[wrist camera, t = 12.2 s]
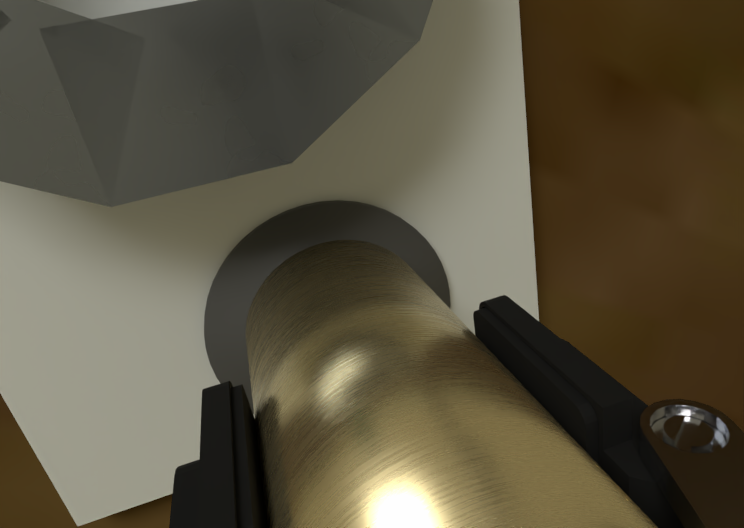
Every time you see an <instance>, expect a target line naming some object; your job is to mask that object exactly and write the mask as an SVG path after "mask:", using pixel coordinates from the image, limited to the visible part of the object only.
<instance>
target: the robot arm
mask: <svg viewBox="0 0 744 528" xmlns="http://www.w3.org/2000/svg"><path fill="white" fill-rule="evenodd" d="M473 319H474V327H475V336H476V337H477V338H478V339H479V340H480V341H481V342H482V343H483V344H484V345H485V346H486V347H487V348H488V349H489V350H490V351H491V352H492V353H493V354H494V356H495V357H496V358H497V359H498V360H499V361H500V362H501V363H502V364H503V365H504V366H505V367H506V368H507V369H508V370H509V371H510V372H511V373H512V374H513V376H514V377H515V378H516V379H517V380H518V381H519V382H520V383H521V384H522V385H523V386H524V387H525V388H526V389H527V390H528V391H529V392H530V393H531V394H532V395H533V397H534V398H535V399H536V400H537V401H538V402H539V403H540V404H541V405H542V406H543V407H544V408H545V409H546V410H547V411H548V412H549V413H550V414H551V415H552V417H553V418H554V419H555V420H556V421H557V422H558V423H559V424H560V425H561V426H562V427H563V428H564V429H565V430H566V431H567V432H568V433H569V434H570V435H571V436H572V438H573V439H574V440H575V441H576V442H577V443H578V444H579V445H580V446H581V447H582V448H583V449H584V450H585V451H586V452H587V453H588V454H589V455H590V456H591V458H592V459H593V460H594V461H595V462H596V463H597V464H598V465H599V466H600V467H601V468H602V469H603V470H604V471H605V472H606V473H607V474H608V475H609V476H610V477H611V479H612V480H613V481H614V482H615V483H616V484H617V485H618V486H619V487H620V488H621V489H622V490H623V491H624V492H625V493H626V494H627V495H628V496H629V497H630V499H631V500H632V501H633V502H634V503H635V504H636V505H637V506H638V507H639V508H640V509H641V510H642V511H643V512H644V513H645V514H646V515H647V516H648V517H649V518H650V520H651V521H652V522H653V523H654V524H655V525H656V526H657V527H658V528H744V432H743V431H742V430H741V429H740V428H739V427H738V426H737V425H736V424H735V423H734V422H733V421H732V420H731V419H730V418H729V417H728V416H726V415H725V414H724V413H723V412H721V411H719V410H717V409H715V408H713V407H711V406H709V405H706V404H703V403H699V402H696V401H691V400H684V399H666V400H663V401H659V402H655V403H653V404H651V405H650V406H648V405H646V404H645V403H644V402H643V401H641V400H640V399H639V398H637V397H636V396H635V395H634V394H632V393H631V392H630V391H629V390H627V389H626V388H625V387H624V386H622V385H621V384H620V383H619V382H617V381H616V380H615V379H614V378H612V377H611V376H610V375H609V374H607V373H606V372H605V371H604V370H602V369H601V368H600V367H599V366H597V365H596V364H595V363H594V362H592V361H591V360H590V359H589V358H587V357H586V356H585V355H583V354H582V353H581V352H580V351H578V350H577V349H576V348H575V347H573V346H572V345H571V344H570V343H568V342H567V341H565V340H563V339H560V338H559V337H558V336H556V335H555V334H554V333H553V332H551V331H550V330H549V329H548V328H546V327H545V326H544V325H543V324H541V323H540V322H539V321H538V320H536V319H535V318H534V317H533V316H531V315H530V314H529V313H528V312H526V311H525V310H524V309H523V308H522V307H520V306H519V305H518V304H517V303H515V302H514V301H513V300H512V299H510V298H509V297H508V296H506V295H502V296H499V297H496V298H493V299H489V300H486V301H483V302H481V303H480V305H479V310H476V311H474V313H473ZM169 528H267V520H266V511H265V503H264V494H263V485H262V476H261V468H260V459H259V450H258V441H257V432H256V424H255V418H254V415H253V412H252V410H251V407H250V404H249V401H248V398H247V395H246V392H245V390H244V387H243V385H242V384H241V385H238V386H235V387H233V385H232V383H231V381H227V382H224V383H221V384H217V385H214V386H211V387H208V388H205V389H203V390H202V405H201V433H200V459H199V460H196V461H193V462H190V463H187V464H184V465H181V466H178V467H177V468H176V470H175V475H174V484H173V495H172V505H171V516H170V526H169Z"/></svg>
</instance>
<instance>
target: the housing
mask: <svg viewBox="0 0 744 528" xmlns="http://www.w3.org/2000/svg"><path fill="white" fill-rule="evenodd" d="M432 2H433V0H197V1H192V2H186V3H180V4H175V5H169V6H164V7H158V8H152V9H147V10H141V11H136V12H130V13H125V14H119V15H113V16H108V17H102V18H97V19H89V18H87V17H84V16H81V15H78V14H75V13H72V12H69V11H66V10H63V9H61V8H58V7H55V6H52V5H49V4H46V3H43V2H40V1H37V0H0V181H1V182H5V183H10V184H14V185H18V186H23V187H27V188H31V189H35V190H40V191H44V192H48V193H53V194H57V195H61V196H65V197H70V198H74V199H78V200H83V201H87V202H91V203H96V204H100V205H104V206H108V207H113V206H118V205H122V204H126V203H130V202H134V201H138V200H142V199H146V198H150V197H155V196H159V195H163V194H167V193H171V192H175V191H179V190H183V189H188V188H192V187H196V186H200V185H204V184H208V183H212V182H216V181H220V180H225V179H229V178H233V177H237V176H241V175H245V174H249V173H253V172H257V171H262V170H266V169H270V168H274V167H278V166H282V165H286V164H290V163H293V162H294V161H295V160H296V159H297V158H298V157H299V156H300V155H301V154H302V153H303V152H304V151H305V150H306V149H307V148H308V147H309V146H310V145H311V144H312V143H313V142H315V141H316V140H317V139H318V138H319V137H320V136H321V135H322V134H323V133H324V132H325V131H326V130H327V129H328V128H329V127H330V126H331V125H332V124H333V123H334V122H335V121H336V120H337V119H338V118H340V117H341V116H342V115H343V114H344V113H345V112H346V111H347V110H348V109H349V108H350V107H351V106H352V105H353V104H354V103H355V102H356V101H357V100H358V99H359V98H360V97H361V96H362V95H363V94H365V93H366V92H367V91H368V90H369V89H370V88H371V87H372V86H373V85H374V84H375V83H376V82H377V81H378V80H379V79H380V78H381V77H382V76H383V75H384V74H385V73H386V72H387V71H388V70H390V69H391V68H392V67H393V66H394V65H395V64H396V63H397V62H398V61H399V60H400V59H401V58H402V57H403V56H404V55H405V54H406V53H407V52H408V51H409V50H410V49H411V48H412V47H413V46H415V45H416V44H417V43H418V42H419V41H420V39H421V36H422V33H423V29H424V26H425V23H426V20H427V17H428V14H429V11H430V8H431V5H432Z"/></svg>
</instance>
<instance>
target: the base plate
mask: <svg viewBox="0 0 744 528" xmlns="http://www.w3.org/2000/svg"><path fill="white" fill-rule="evenodd" d="M37 1H40V2H43V3H46V4H49V5H52V6H55V7H58V8H61V9H63V10H66V11H69V12H72V13H75V14H78V15H81V16H84V17H87V18H89V19H97V18H102V17H108V16H113V15H119V14H125V13H130V12H136V11H141V10H147V9H152V8H158V7H164V6H169V5H175V4H180V3H186V2H192V1H197V0H37ZM336 240H358V241H364V242H370V243H373V244H376V245H379V246H381V247H384V248H386V249H388V250H390V251H392V252H393V253H394V254H396V255H397V256H399V257H400V258H401V259H402V260H404V261H405V262H406V263H407V264H408V265H409V266H410V267H411V268H412V269H413V270H414V271H415V273H416V274H417V275H418V276H419V277H420V278H421V279H422V280H423V281H424V282H425V283H426V284H427V285H428V286H429V287H430V288H431V289H432V290H433V291H434V292H435V294H436V295H437V296H438V297H439V298H440V299H441V300H442V301H443V302H444V303H445V304H446V305H447V306H448V307H449V308H450V309H451V310H452V311H453V312H454V313H455V315H456V316H457V317H458V318H459V319H460V320H461V321H462V322H463V323H464V324H465V325H466V326H467V327H468V328H469V329H470V330H471V331H472V332H473V333H474V335H475V327H474V319H473V313H474V311H476V310H479V305H480V303H481V302H483V301H486V300H489V299H493V298H496V297H499V296H502V295H506V296H508V297H509V298H510V299H512V300H513V301H514V302H515V303H517V304H518V305H519V306H520V307H522V308H523V309H524V310H525V311H526V312H528V313H529V314H530V315H531V316H533V317H534V318H535V319H536V320H538V321H539V313H538V297H537V281H536V266H535V250H534V234H533V218H532V203H531V187H530V171H529V155H528V140H527V124H526V108H525V92H524V77H523V61H522V45H521V29H520V13H519V0H433V2H432V5H431V8H430V11H429V14H428V17H427V20H426V23H425V26H424V29H423V33H422V36H421V39H420V41H419V42H418V43H417V44H416V45H415V46H413V47H412V48H411V49H410V50H409V51H408V52H407V53H406V54H405V55H404V56H403V57H402V58H401V59H400V60H399V61H398V62H397V63H396V64H395V65H394V66H393V67H392V68H391V69H390V70H388V71H387V72H386V73H385V74H384V75H383V76H382V77H381V78H380V79H379V80H378V81H377V82H376V83H375V84H374V85H373V86H372V87H371V88H370V89H369V90H368V91H367V92H366V93H365V94H363V95H362V96H361V97H360V98H359V99H358V100H357V101H356V102H355V103H354V104H353V105H352V106H351V107H350V108H349V109H348V110H347V111H346V112H345V113H344V114H343V115H342V116H341V117H340V118H338V119H337V120H336V121H335V122H334V123H333V124H332V125H331V126H330V127H329V128H328V129H327V130H326V131H325V132H324V133H323V134H322V135H321V136H320V137H319V138H318V139H317V140H316V141H315V142H313V143H312V144H311V145H310V146H309V147H308V148H307V149H306V150H305V151H304V152H303V153H302V154H301V155H300V156H299V157H298V158H297V159H296V160H295V161H294V162H293V163H290V164H286V165H282V166H278V167H274V168H270V169H266V170H262V171H257V172H253V173H249V174H245V175H241V176H237V177H233V178H229V179H225V180H220V181H216V182H212V183H208V184H204V185H200V186H196V187H192V188H188V189H183V190H179V191H175V192H171V193H167V194H163V195H159V196H155V197H150V198H146V199H142V200H138V201H134V202H130V203H126V204H122V205H118V206H113V207H108V206H104V205H100V204H96V203H91V202H87V201H83V200H78V199H74V198H70V197H65V196H61V195H57V194H53V193H48V192H44V191H40V190H35V189H31V188H27V187H23V186H18V185H14V184H10V183H5V182H1V181H0V393H1V395H2V397H3V399H4V400H5V402H6V404H7V405H8V407H9V409H10V411H11V412H12V414H13V416H14V418H15V419H16V421H17V423H18V424H19V426H20V428H21V430H22V431H23V433H24V435H25V436H26V438H27V440H28V442H29V443H30V445H31V447H32V449H33V450H34V452H35V454H36V455H37V457H38V459H39V461H40V462H41V464H42V466H43V467H44V469H45V471H46V473H47V474H48V476H49V478H50V480H51V481H52V483H53V485H54V486H55V488H56V490H57V492H58V493H59V495H60V497H61V498H62V500H63V502H64V504H65V505H66V507H67V509H68V511H69V512H70V514H71V516H72V517H73V519H74V521H75V523H76V524H77V526H80V525H83V524H86V523H89V522H92V521H95V520H98V519H100V518H103V517H106V516H109V515H112V514H115V513H118V512H121V511H124V510H126V509H129V508H132V507H135V506H138V505H141V504H144V503H147V502H150V501H152V500H155V499H158V498H161V497H164V496H167V495H170V494H173V484H174V475H175V470H176V468H177V467H178V466H181V465H184V464H187V463H190V462H193V461H196V460H199V459H200V433H201V405H202V390H203V389H205V388H208V387H211V386H214V385H217V384H221V383H224V382H227V381H231V383H232V385H233V387H235V386H238V385H241V384H242V385H243V387H244V390H245V392H246V395H247V398H248V401H249V404H250V407H251V410H252V412H253V415H254V407H253V399H252V390H251V381H250V372H249V363H248V355H247V346H246V335H245V333H246V321H247V316H248V311H249V309H250V306H251V303H252V300H253V298H254V296H255V294H256V293H257V291H258V289H259V287H260V286H261V285H262V283H263V282H264V280H265V279H266V278H267V277H268V276H269V275H270V273H271V272H272V271H273V270H274V269H275V268H276V267H278V266H279V265H280V264H281V263H282V262H284V261H285V260H286V259H288V258H289V257H291V256H293V255H294V254H296V253H298V252H300V251H302V250H304V249H306V248H308V247H311V246H314V245H317V244H320V243H325V242H329V241H336ZM254 418H255V416H254Z"/></svg>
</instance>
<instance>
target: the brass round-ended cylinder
mask: <svg viewBox="0 0 744 528" xmlns="http://www.w3.org/2000/svg"><path fill="white" fill-rule="evenodd" d="M245 335H246V346H247V355H248V363H249V372H250V381H251V390H252V399H253V407H254V416H255V424H256V432H257V441H258V450H259V459H260V468H261V476H262V485H263V494H264V503H265V511H266V520H267V528H658V527H657V526H656V525H655V524H654V523H653V522H652V521H651V520H650V518H649V517H648V516H647V515H646V514H645V513H644V512H643V511H642V510H641V509H640V508H639V507H638V506H637V505H636V504H635V503H634V502H633V501H632V500H631V499H630V497H629V496H628V495H627V494H626V493H625V492H624V491H623V490H622V489H621V488H620V487H619V486H618V485H617V484H616V483H615V482H614V481H613V480H612V479H611V477H610V476H609V475H608V474H607V473H606V472H605V471H604V470H603V469H602V468H601V467H600V466H599V465H598V464H597V463H596V462H595V461H594V460H593V459H592V458H591V456H590V455H589V454H588V453H587V452H586V451H585V450H584V449H583V448H582V447H581V446H580V445H579V444H578V443H577V442H576V441H575V440H574V439H573V438H572V436H571V435H570V434H569V433H568V432H567V431H566V430H565V429H564V428H563V427H562V426H561V425H560V424H559V423H558V422H557V421H556V420H555V419H554V418H553V417H552V415H551V414H550V413H549V412H548V411H547V410H546V409H545V408H544V407H543V406H542V405H541V404H540V403H539V402H538V401H537V400H536V399H535V398H534V397H533V395H532V394H531V393H530V392H529V391H528V390H527V389H526V388H525V387H524V386H523V385H522V384H521V383H520V382H519V381H518V380H517V379H516V378H515V377H514V376H513V374H512V373H511V372H510V371H509V370H508V369H507V368H506V367H505V366H504V365H503V364H502V363H501V362H500V361H499V360H498V359H497V358H496V357H495V356H494V354H493V353H492V352H491V351H490V350H489V349H488V348H487V347H486V346H485V345H484V344H483V343H482V342H481V341H480V340H479V339H478V338H477V337H476V336H475V335H474V333H473V332H472V331H471V330H470V329H469V328H468V327H467V326H466V325H465V324H464V323H463V322H462V321H461V320H460V319H459V318H458V317H457V316H456V315H455V313H454V312H453V311H452V310H451V309H450V308H449V307H448V306H447V305H446V304H445V303H444V302H443V301H442V300H441V299H440V298H439V297H438V296H437V295H436V294H435V292H434V291H433V290H432V289H431V288H430V287H429V286H428V285H427V284H426V283H425V282H424V281H423V280H422V279H421V278H420V277H419V276H418V275H417V274H416V273H415V271H414V270H413V269H412V268H411V267H410V266H409V265H408V264H407V263H406V262H405V261H404V260H402V259H401V258H400V257H399V256H397V255H396V254H394V253H393V252H392V251H390V250H388V249H386V248H384V247H381V246H379V245H376V244H373V243H370V242H364V241H358V240H336V241H329V242H325V243H320V244H317V245H314V246H311V247H308V248H306V249H304V250H302V251H300V252H298V253H296V254H294V255H293V256H291V257H289V258H288V259H286V260H285V261H284V262H282V263H281V264H280V265H279V266H278V267H276V268H275V269H274V270H273V271H272V272H271V273H270V275H269V276H268V277H267V278H266V279H265V280H264V282H263V283H262V285H261V286H260V287H259V289H258V291H257V293H256V294H255V296H254V298H253V300H252V303H251V306H250V309H249V311H248V316H247V321H246V333H245Z"/></svg>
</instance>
